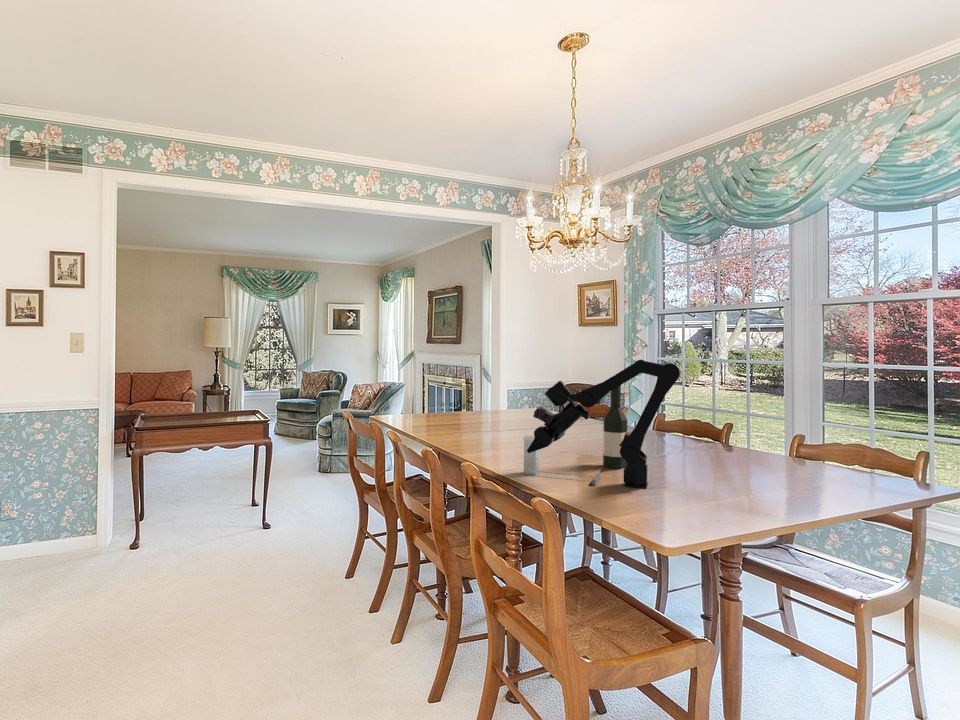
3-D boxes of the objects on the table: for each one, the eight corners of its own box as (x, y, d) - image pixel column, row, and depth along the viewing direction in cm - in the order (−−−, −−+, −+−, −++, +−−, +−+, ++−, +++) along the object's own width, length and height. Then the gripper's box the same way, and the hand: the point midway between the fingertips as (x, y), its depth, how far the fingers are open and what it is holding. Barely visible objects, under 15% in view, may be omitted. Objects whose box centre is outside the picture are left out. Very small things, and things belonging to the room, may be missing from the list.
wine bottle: (598, 464, 199) (599, 380, 198) (618, 463, 201) (619, 380, 200) (610, 469, 191) (611, 382, 190) (631, 468, 193) (632, 381, 192)
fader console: (600, 478, 177) (600, 473, 177) (595, 485, 169) (595, 479, 169) (530, 472, 186) (530, 467, 186) (522, 478, 178) (522, 472, 177)
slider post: (539, 472, 182) (540, 435, 182) (536, 475, 178) (536, 437, 178) (526, 471, 184) (527, 434, 184) (522, 473, 180) (523, 436, 180)
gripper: (556, 396, 187) (524, 426, 191) (541, 401, 170) (506, 434, 174) (579, 421, 184) (545, 451, 189) (566, 429, 167) (529, 462, 171)
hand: (531, 449), depth 181 cm, fingers open, 9 cm apart
